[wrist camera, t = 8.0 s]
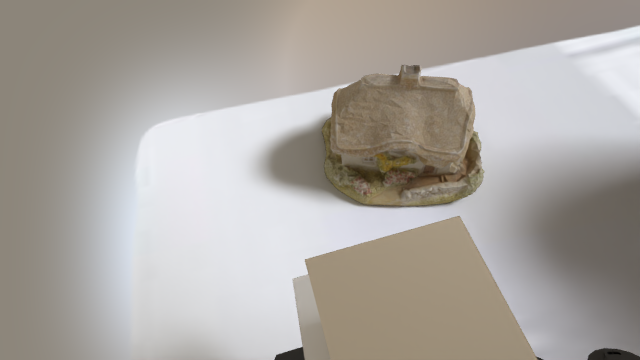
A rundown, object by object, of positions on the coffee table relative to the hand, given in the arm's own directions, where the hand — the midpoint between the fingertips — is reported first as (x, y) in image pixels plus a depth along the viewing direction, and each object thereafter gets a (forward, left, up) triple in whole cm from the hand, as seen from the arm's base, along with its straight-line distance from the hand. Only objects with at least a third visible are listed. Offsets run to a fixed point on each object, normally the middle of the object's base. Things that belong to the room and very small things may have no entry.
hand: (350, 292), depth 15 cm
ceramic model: (-9, -13, -11) cm, 19 cm away
